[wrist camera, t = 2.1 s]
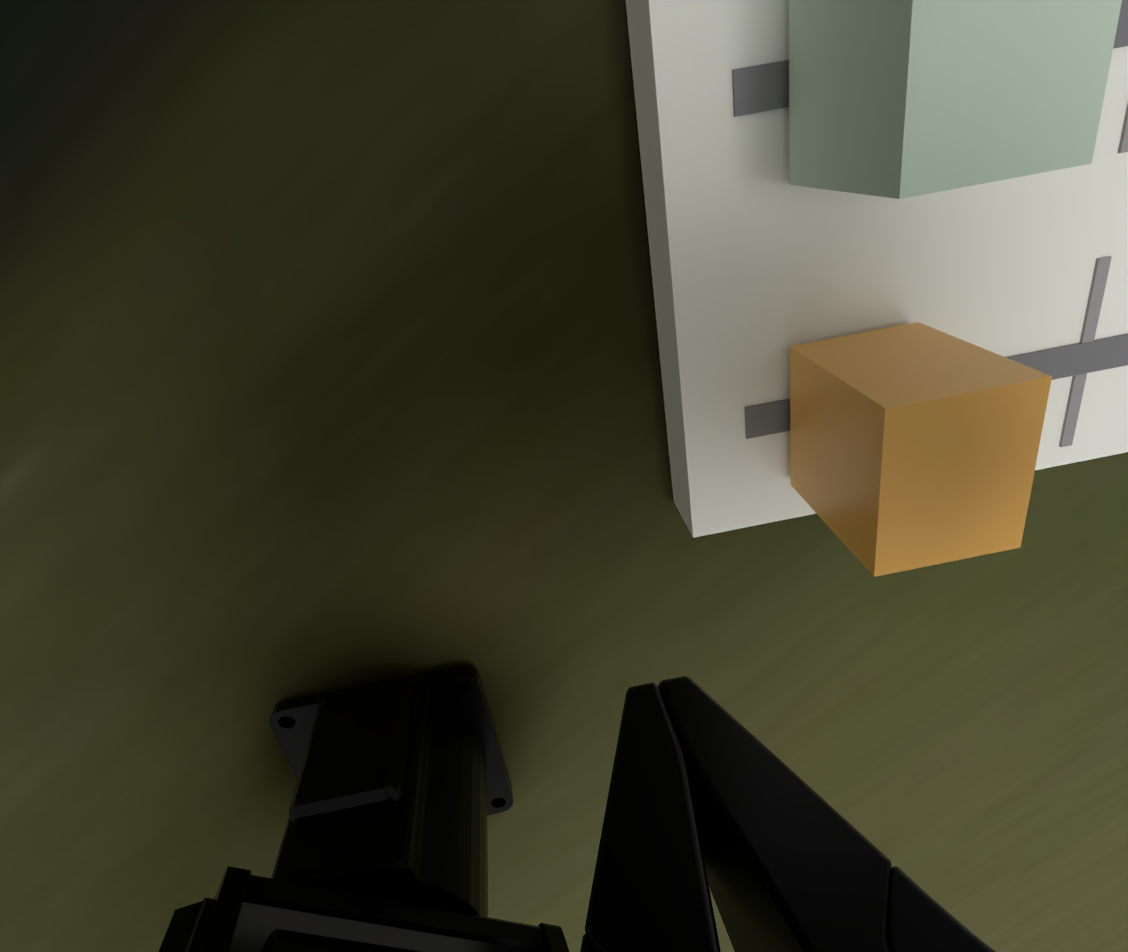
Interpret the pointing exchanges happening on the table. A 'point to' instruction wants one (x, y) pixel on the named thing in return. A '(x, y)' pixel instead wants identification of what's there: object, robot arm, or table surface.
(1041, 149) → the sage fader
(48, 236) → the table surface
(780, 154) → the mixer console
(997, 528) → the amber fader
